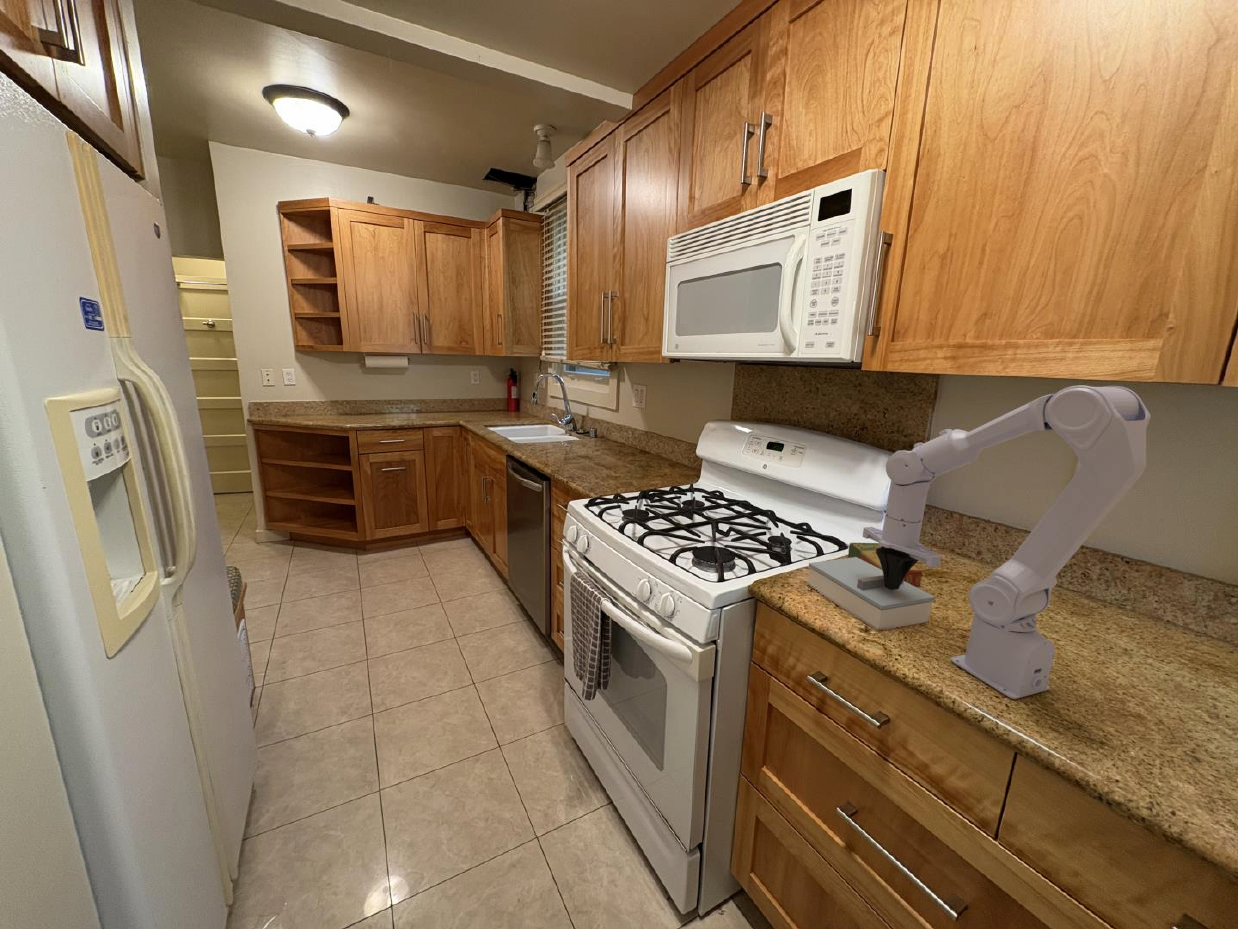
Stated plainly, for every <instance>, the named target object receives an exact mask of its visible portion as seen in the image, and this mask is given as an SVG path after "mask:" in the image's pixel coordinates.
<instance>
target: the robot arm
mask: <svg viewBox="0 0 1238 929" xmlns="http://www.w3.org/2000/svg"><path fill="white" fill-rule="evenodd" d="M1151 417H1152V416H1151V414H1150V412H1149V410H1148V408H1147V407H1146V406H1145V404H1144V402H1143V400H1142V399H1141V398H1140V396H1139V395H1138V394H1137V393H1136V392H1134V391H1133V390H1132V389H1130V388H1128V387H1125V386H1120V385H1119V386H1118V385H1104V386H1090V385H1084V384H1083V385H1081V384H1080V385H1079V384H1078V385H1072V386H1068V387H1064V388H1062V389H1061V390H1059V391H1057V392H1056V393H1050V394H1047V395H1042V396H1040V397H1037V398H1036V399H1034V400H1031V401H1029V402H1028V403H1026V404H1024V405H1022V406H1020V407H1018V408H1016V409H1014V410H1011V411H1009V412H1007V413H1004V414H1003V415H1000V416H998V417H997V418H995V419H992V420H991V421H988V422H986V423H985V424H983V425H980V426H979V427H976V428H974V429H972V430H970V431H966V430H963V429H959V428H956V429H953V430H952V429H951V428H948V429H947V428H945V429H943V430H941V431H939V433H938V434H939V436H937V437H936V438H933V439H931V440H929V441H927V442H924V443H923V442H917V443H915V444H914V445H913V448H912V450H905V449H903V450H901V449H900V450H896V451H895V452H894V453H892V454H891V455H890V456H889V457H888V459H887V461H886V463H885V473H886V475H887V477H888V478H889V479H890V483H889V491H888V496H887V504H886V510H885V514H884V520H883V521H884V522H883V528H882V529H883V530H882V529H880V528H877V527H876V528H875V527H874V526H866V527H863V530H862V538H864V539H870V540H872V541H874V542H875V543H879V545H881V546H882V547H881V548H877V549H876V554H877V556H878V558H879V560H880V563H881V566H882V570H883V576H884V584H885V587H886V588H888V589H890V590H895V589H899V587H900V585H901V583H902V581H903V579H904V577H905V576H906V574H907V573H908V571H909V570H910V569H911V568H912V567H913V566H914V565H916V564H917V563H918V561H919V562H921V563H923V564H925V566H927V567H928V568H939V567H940V565H941V561H942V555H940V554H938V553H936V552H934V551H932V550H931V549H930V548H927V547H926V546H925V545H923V544H921V543H920V542H919V541H920V536H921V531H922V525H923V519H924V515H925V514H924V513H925V510H926V503H927V498H928V493H929V492H928V491H930V488H931V484H932V482H933V481H934V480H936V478H937V477H939V476H941V475H943V474H946V473H949V472H951V471H955V470H957V469H959V468H961V467H964V466H967V465H969V464H973V463H975V462H976V461H977V460H978V459H979V456H980V454H981V452H982V450H985V449H988V448H991V447H994V446H997V445H999V444H1003V443H1004V442H1007V441H1011V440H1013V439H1017V438H1019V437H1022V436H1024V435H1028V434H1030V433H1033V432H1035V431H1038V432H1039V431H1042V432H1043V431H1045V432H1046V431H1054V432H1055V433H1056V434H1057V435H1058V436H1059V437H1061V439H1062V440H1064V441H1065V442H1066V443H1067V445H1069V447H1071V448H1072V450H1073V452H1074V454H1075V455H1076V458H1077V460H1078V462H1079V463H1080V468H1079V469H1078V470H1077V472H1076V473H1075V474H1074V476H1073V477H1072V478H1071V479H1070V481H1069V482H1068V484H1066V485H1065V487H1064V489H1063V490H1062V491H1061V493H1060V494H1059V496H1057V498H1056V499H1055V500H1054V501H1053V503H1052V504H1051V506H1050V507H1049V508H1048V510H1047V511H1046V512H1045V514H1043V516H1042V517H1041V519H1040V520H1039V521H1038V523H1037V524H1036V525H1035V526H1034V528H1033V529H1032V530H1031V531H1030V533H1029V534H1028V535H1027V537H1026V538H1025V539H1024V540H1023V542H1022V543H1021V544H1020V546H1019V547H1018V548H1017V550H1016V551H1015V553H1014V554H1013V555H1012V556H1011V557H1010V558H1009V559H1008V560H1006V561H1005V562H1004V563H1003V564H1001V565H1000V566H999V567H998V568H996V569H994V570H993V571H992V573H991V574H990V575H989V577H988V578H986V579H983V580H981V581H977V582H976V583H974V584H973V585H972V586H971V587H970V589H969V592H968V602H969V605H970V607H971V610H973V612H974V613H973V617H972V624H971V626H970V631H969V636H968V641H967V647H966V651H965V654H962V655H961V654H960V655H957V656H952V657H950V661H951V662H952V664H954V665H957V666H958V667H959V668H961V669H963V670H965V671H966V672H968V673H969V674H971V675H972V676H974V677H975V678H977V679H978V680H980V681H982V682H984V683H985V684H987V685H989V686H990V687H992V688H993V689H995V690H996V691H998V692H1000V693H1001V694H1003V695H1005V696H1006V697H1009V699H1012V700H1016V699H1020V698H1024V697H1027V696H1030V695H1035V694H1038V693H1042V692H1045V691H1049V690H1050V687H1051V686H1049V685H1048V683H1049V679H1050V675H1051V671H1052V667H1053V664H1054V658H1055V655H1056V646H1055V644H1054V643H1053V641H1051V640H1050V639H1048V638H1046V637H1045V636H1044V635H1042V634H1041V633H1040V632H1039V630H1037V618H1036V617H1037V615H1038V614H1040V613H1042V612H1044V611H1045V610H1046V609H1048V607H1049V605H1050V603H1051V594H1052V591H1053V589H1054V587H1056V585H1057V584H1058V579H1057V577H1056V576H1057V575H1058V574H1059V572H1061V570H1062V569H1063V568H1064V567H1065V566H1066V564H1067V563H1068V562H1069V561H1070V559H1072V557H1073V556H1074V555H1075V553H1077V551H1078V550H1079V549H1080V548H1081V546H1082V545H1083V544H1084V543H1085V541H1087V539H1088V538H1089V537H1090V536H1091V535H1092V533H1094V531H1095V530H1096V529H1097V527H1099V525H1100V524H1101V523H1102V521H1104V520H1105V518H1106V517H1107V516H1108V515H1109V514H1110V512H1111V511H1112V510H1113V509H1114V508H1115V506H1116V505H1117V504H1118V503H1119V502H1120V501H1121V499H1122V498H1123V497H1124V496H1125V495H1126V493H1127V492H1128V491H1129V490H1130V488H1131V487H1132V486H1133V485H1135V483H1136V482H1137V481H1138V479H1139V478H1140V477H1141V476H1142V475H1143V473H1144V472H1145V469H1146V467H1147V428H1148V425H1149V422H1150V419H1151Z"/></svg>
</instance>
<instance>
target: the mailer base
mask: <svg viewBox="0 0 1238 929" xmlns="http://www.w3.org/2000/svg"><path fill="white" fill-rule="evenodd" d="M808 572H809V574H808V580H807V586H808V585H809V586H810V587H809V586H808V587H809V588H811V589H812V588H813V590H814V589H815V590H817V591H818V592H819V594H820V595H821V594H822V595H821V596H823V595H824V596H823V597H824V598H826V597H827V598H826V599H828V600H829V601H830V602H832V601H833V602H832V603H834V604H835V605H837V606H838V607H840V608H841V607H842V609H843V610H844V609H845V611H846V612H847V613H849V614H850V613H851V614H850V615H852V614H853V615H852V616H854V617H855V618H856V619H859V621H861V620H862V621H861V622H863V623H864V622H865V624H866V625H867V626H868V627H870V626H871V627H870V628H872V627H873V628H874V630H875V631H876V630H877V632H881V630H882V631H887V630H892V629H896V627H898V628H902V627H901V626H903V627H907V626H908V627H909V626H912V625H913V626H914V625H917V624H923V623H928V621H930V615H931V610H932V605H933V601H928V602H923V603H917V604H911V605H905V606H900V607H894V608H888V609H882V610H881V609H879V608H878V607H876V606H874V605H873V604H871V603H869V602H868V601H866V600H864V599H863V598H861V597H859V596H858V595H856V594H854V593H853V592H851V591H849V590H848V589H846V588H844V587H843V586H841V585H839V584H838V583H836V582H834V581H833V580H831V579H829V578H828V577H826V576H824V575H823V574H821V573H819V572H818V571H816V570H814V569H813V568H811V567H809V571H808ZM815 590H814V591H815ZM817 591H816V592H817ZM818 592H817V593H818ZM873 628H872V629H873ZM891 628H892V629H891ZM886 629H887V630H886Z"/></svg>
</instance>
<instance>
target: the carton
mask: <svg viewBox="0 0 1238 929" xmlns="http://www.w3.org/2000/svg"><path fill="white" fill-rule="evenodd" d="M881 547H882V546H881V545H879V542H850V543H849V545H848V551H847V552H848V553H847V554H848V555H847V558H853V557H857V558H859V559H861V560H863V561H865V562H867V563H869V564H871V565H873V566H875V567H877V568H879V569H881V570H882V566H881V563H880V560H879V558H878V556H877V554H876V549H877V548H881ZM922 576H923V570H922V569H920V568H919V567H918V566H916V564H914V566H913V567H912V568H911V569H910V570H909V571H908V573H907V574H906V576H905V577H904V581H905V582H907V583H909V584H911V585H913V586H915V587H916V588H920V585H921V583H922V582H921V581H922V578H923V577H922Z"/></svg>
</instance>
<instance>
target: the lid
mask: <svg viewBox="0 0 1238 929" xmlns="http://www.w3.org/2000/svg"><path fill="white" fill-rule="evenodd" d="M808 567H809V568H813V569H814V570H816V571H818V572H819V573H821V574H823V575H824V576H826V577H828V578H829V579H831V580H833V581H834V582H836V583H838V584H839V585H841V586H843V587H844V588H846V589H848V590H849V591H851V592H853V593H854V594H856V595H858V596H859V597H861V598H863V599H864V600H866V601H868V602H869V603H871V604H873V605H874V606H876V607H878V608H879V609H881V610H882V609H888V608H894V607H900V606H905V605H911V604H917V603H923V602H928V601H932V602H933V601H935V600H936V596H934V595H932V594H930V593H928V592H926V591H925V590H922V589H920V588H919V587H915V586H913V585H911V584H909V583H907V582H905V581H904V579H903V581H902V583H901V585H900V587H899V589H895V590H890V589H888V588H886V587H885V584H884V576H883V570H881V569H879V568H877V567H875V566H873V565H871V564H869V563H867V562H865V561H863V560H861V559H859V558H857V557H853V558H849V557H847V558H839V559H829V560H823V561H822V560H821V561H815V562H809V563H808Z"/></svg>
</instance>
